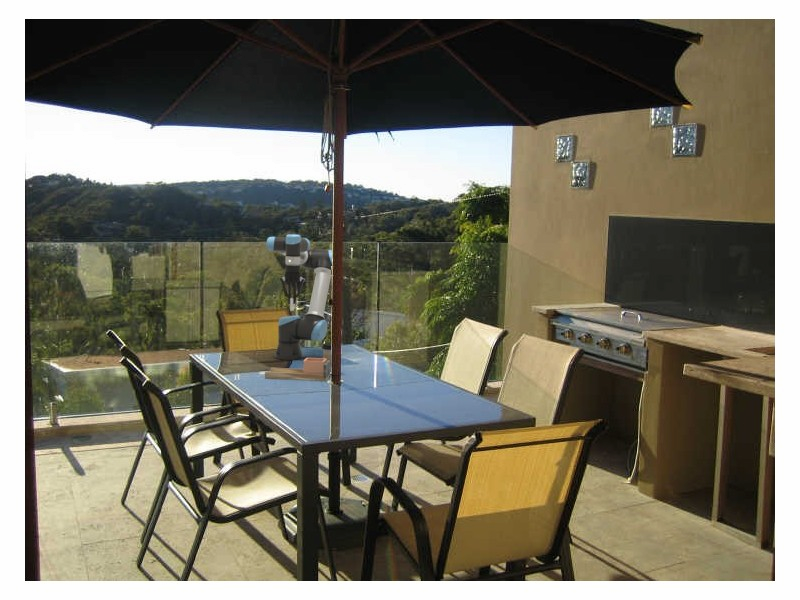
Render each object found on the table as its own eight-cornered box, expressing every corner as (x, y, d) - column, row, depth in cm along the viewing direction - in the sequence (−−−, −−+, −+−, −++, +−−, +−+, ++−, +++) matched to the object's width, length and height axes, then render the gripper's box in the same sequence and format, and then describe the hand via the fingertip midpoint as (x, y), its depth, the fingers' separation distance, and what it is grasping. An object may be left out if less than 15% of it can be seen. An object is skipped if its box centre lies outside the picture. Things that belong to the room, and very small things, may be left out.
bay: (270, 373, 414) (271, 357, 413) (329, 376, 411) (330, 360, 411) (264, 378, 402) (265, 362, 401) (325, 381, 400) (326, 364, 399)
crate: (306, 373, 411) (306, 357, 410) (326, 374, 410) (326, 358, 409) (303, 376, 402) (303, 360, 401) (323, 377, 401) (323, 361, 400)
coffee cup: (341, 372, 423) (341, 343, 421) (337, 375, 413) (338, 346, 412) (322, 371, 424) (323, 342, 422) (319, 374, 414) (320, 345, 413)
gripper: (278, 264, 419) (277, 310, 422) (303, 265, 418) (303, 311, 421) (282, 263, 427) (281, 309, 429) (306, 264, 425) (306, 310, 428)
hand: (292, 310), depth 425 cm, fingers closed
